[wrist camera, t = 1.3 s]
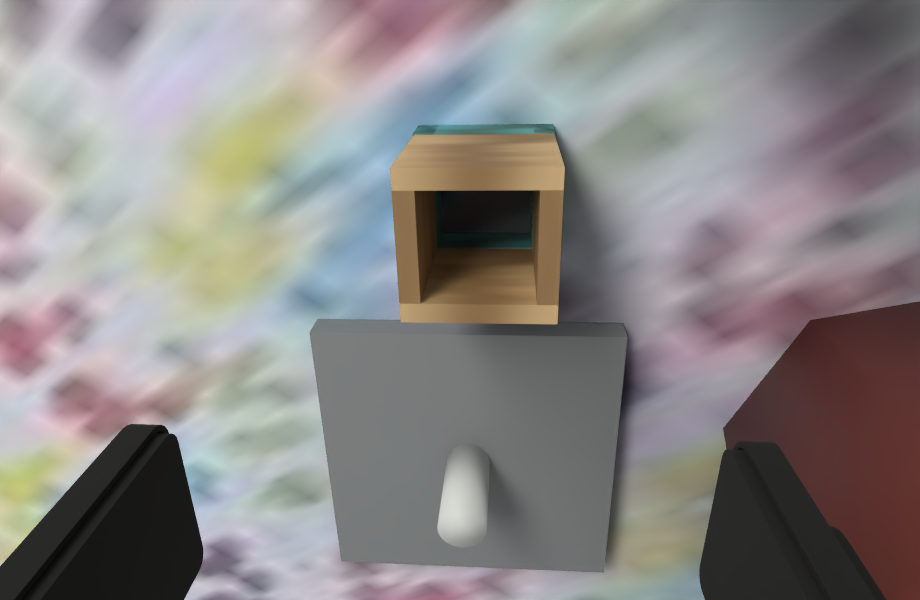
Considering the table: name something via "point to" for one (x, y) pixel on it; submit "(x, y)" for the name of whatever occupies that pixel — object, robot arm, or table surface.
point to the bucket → (852, 433)
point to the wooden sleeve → (478, 254)
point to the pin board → (471, 440)
